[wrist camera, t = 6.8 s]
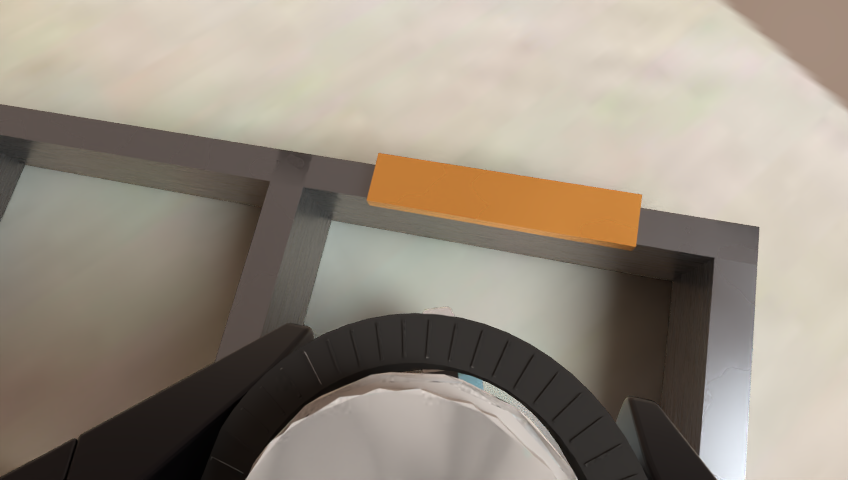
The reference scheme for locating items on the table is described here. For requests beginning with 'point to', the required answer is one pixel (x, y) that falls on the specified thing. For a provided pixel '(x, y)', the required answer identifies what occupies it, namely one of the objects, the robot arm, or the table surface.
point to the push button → (419, 410)
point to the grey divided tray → (446, 220)
